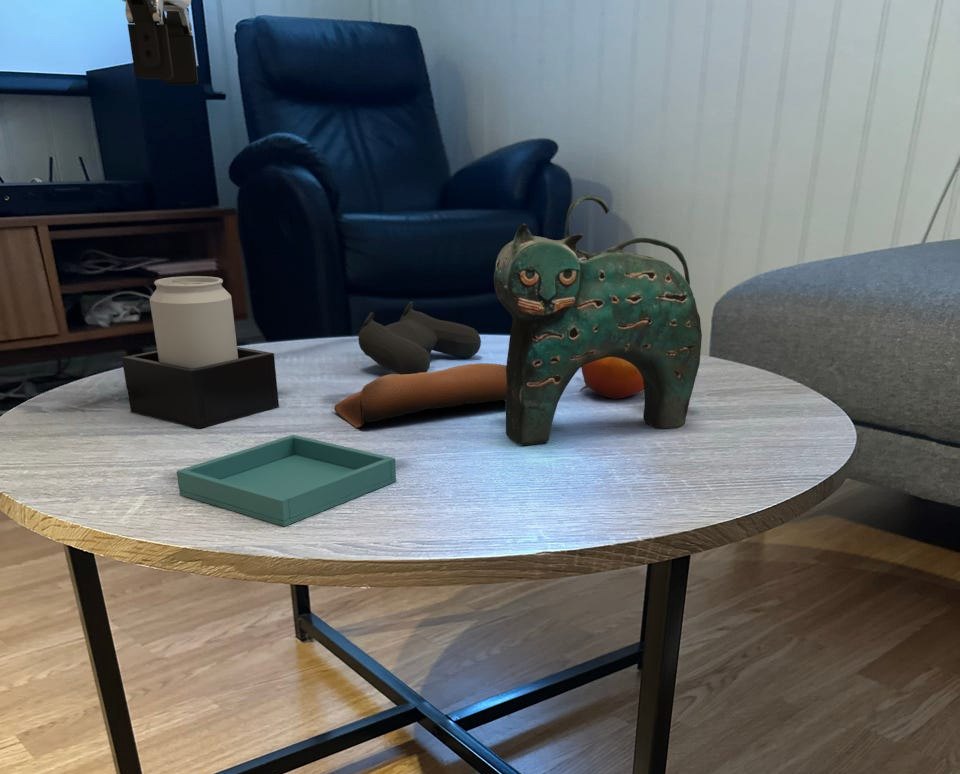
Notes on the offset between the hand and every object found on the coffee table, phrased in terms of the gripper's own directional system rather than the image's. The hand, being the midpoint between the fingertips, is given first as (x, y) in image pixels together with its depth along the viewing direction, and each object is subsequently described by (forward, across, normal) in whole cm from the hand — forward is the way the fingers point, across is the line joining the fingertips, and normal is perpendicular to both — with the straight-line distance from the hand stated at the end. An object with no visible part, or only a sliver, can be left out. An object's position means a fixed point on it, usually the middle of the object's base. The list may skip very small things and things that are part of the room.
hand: (168, 81), depth 86 cm
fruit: (+29, +2, +43) cm, 52 cm away
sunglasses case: (+29, +8, +23) cm, 38 cm away
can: (+28, +8, +1) cm, 29 cm away
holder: (+28, +8, +1) cm, 29 cm away
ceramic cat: (+29, +16, +39) cm, 51 cm away
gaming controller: (+29, -13, +22) cm, 39 cm away
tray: (+28, +32, +13) cm, 44 cm away
